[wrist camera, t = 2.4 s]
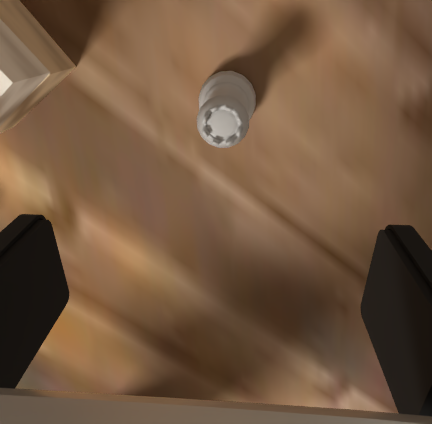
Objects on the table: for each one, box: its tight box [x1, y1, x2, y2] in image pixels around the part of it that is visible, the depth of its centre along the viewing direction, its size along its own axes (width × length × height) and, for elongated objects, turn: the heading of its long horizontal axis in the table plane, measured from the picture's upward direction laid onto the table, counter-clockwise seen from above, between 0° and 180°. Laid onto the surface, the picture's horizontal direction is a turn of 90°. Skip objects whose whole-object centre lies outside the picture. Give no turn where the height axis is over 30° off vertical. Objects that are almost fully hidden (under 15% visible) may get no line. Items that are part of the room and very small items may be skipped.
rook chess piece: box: [197, 71, 256, 148], centre depth 25 cm, size 4×4×8 cm
